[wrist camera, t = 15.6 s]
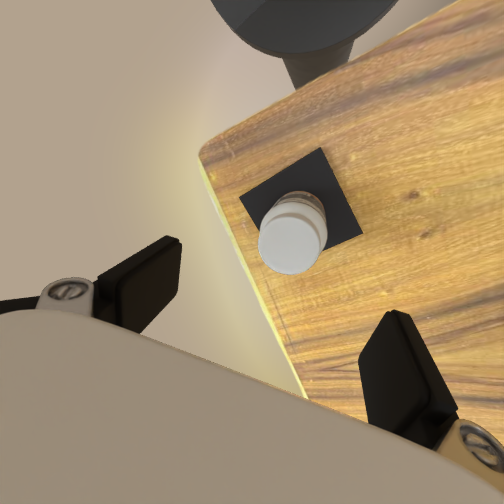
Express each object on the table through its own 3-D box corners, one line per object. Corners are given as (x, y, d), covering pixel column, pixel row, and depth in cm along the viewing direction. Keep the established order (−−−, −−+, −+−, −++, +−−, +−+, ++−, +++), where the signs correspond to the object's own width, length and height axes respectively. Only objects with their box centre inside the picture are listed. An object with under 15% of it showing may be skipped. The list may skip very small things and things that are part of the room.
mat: (240, 196, 28) (238, 197, 28) (320, 147, 24) (320, 146, 24) (282, 266, 31) (281, 268, 30) (362, 231, 27) (363, 233, 26)
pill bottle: (302, 249, 28) (294, 295, 19) (263, 219, 28) (237, 251, 19) (337, 211, 26) (345, 243, 17) (294, 178, 26) (280, 193, 17)
